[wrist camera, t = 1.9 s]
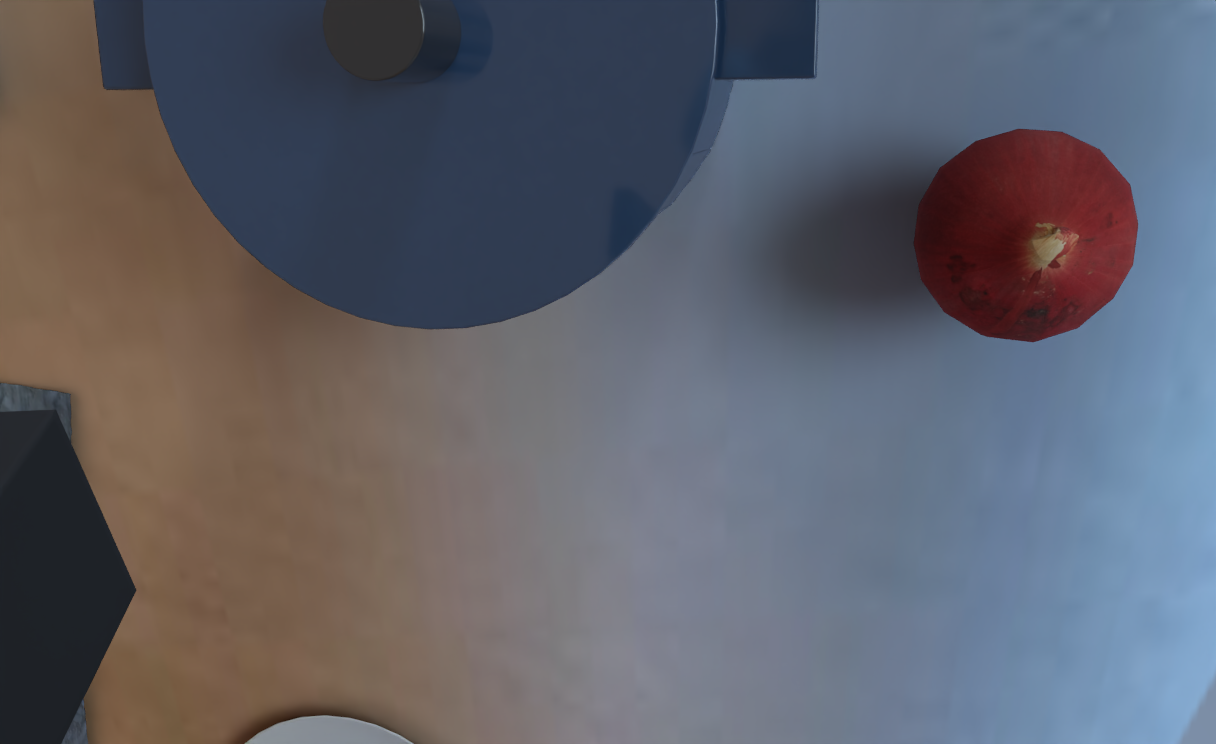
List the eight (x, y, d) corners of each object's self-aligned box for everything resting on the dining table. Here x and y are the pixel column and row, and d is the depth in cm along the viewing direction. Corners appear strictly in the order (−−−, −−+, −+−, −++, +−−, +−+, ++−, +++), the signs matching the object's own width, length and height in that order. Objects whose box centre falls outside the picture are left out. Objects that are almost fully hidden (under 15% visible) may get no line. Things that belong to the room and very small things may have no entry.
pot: (243, -157, 36) (45, -244, 27) (831, -195, 33) (827, -311, 23) (277, 254, 39) (109, 298, 30) (816, 263, 36) (807, 317, 27)
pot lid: (137, -266, 27) (36, -319, 24) (727, -318, 24) (708, -388, 21) (195, 314, 31) (114, 340, 27) (719, 329, 28) (702, 360, 24)
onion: (1085, 324, 34) (1155, 385, 27) (896, 306, 35) (911, 360, 28) (1118, 134, 33) (1201, 142, 25) (920, 121, 34) (943, 125, 26)
